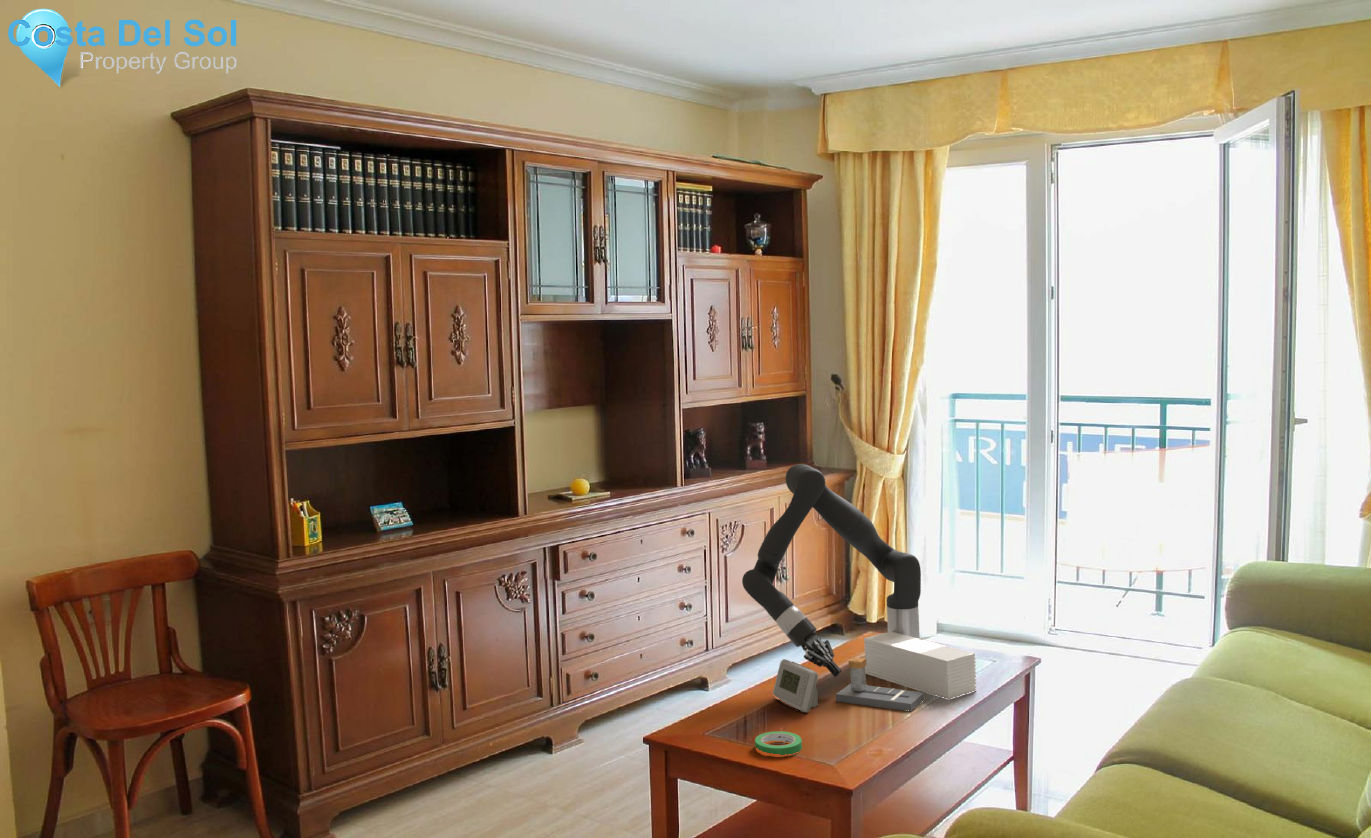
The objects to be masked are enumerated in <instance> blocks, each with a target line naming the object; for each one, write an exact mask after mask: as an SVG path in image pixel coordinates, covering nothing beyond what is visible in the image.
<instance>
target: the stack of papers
mask: <svg viewBox="0 0 1371 838" xmlns="http://www.w3.org/2000/svg"><path fill="white" fill-rule="evenodd" d="M863 641H864V642H863V644H864V646H863V647H864V648H863V649H864V658H866V663H867V665H866V666H865V674H866V675H868V676H872V677H875V678H878V679H881V680H884V681H886V682H890V683H894V684H897V685H900V686H903V687H906V688H909V689H913V690H915V691H917V692H921V691H923V693H925V692H926V693H925V694H929V695H931V694H933V695H932V696H934V695H937V696H939V697H938V698H940V697H944V698H947V699H951V698H953V697H957V696H960V695H962V694H967V693H969V692H972V691H975V690H976V691H977V682H976V681H977V678H976V677H977V676H976V653H975V652H971V651H967V650H963V649H960V648H956V647H953V646H952V647H951V646H948V645H944V644H942V643H937V642H933V641H929V640H926V639H921V638H920V639H918V638H914V637H911V636H907V635H903V634H899V633H895V632H888V631H887V632H883V633H878V634H876V635H871V636H867V637H864V639H863ZM967 695H968V694H967ZM937 696H936V697H937ZM960 697H961V696H960ZM957 698H958V697H957ZM947 699H946V700H947ZM951 700H952V699H951Z"/></svg>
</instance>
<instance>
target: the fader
mask: <svg viewBox="0 0 1371 838" xmlns="http://www.w3.org/2000/svg"><path fill="white" fill-rule="evenodd" d="M866 665H867V663H866V658H865V657H858V656H857V657H856V656H854V657H852V658H851V659H849V660H848V668H850V684H851V690H852V691H859V692H862V691H864V690H865V689H866V685H867V679H866V676H867V674H866V671H865V668H866V667H865V666H866Z"/></svg>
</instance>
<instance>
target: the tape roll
mask: <svg viewBox="0 0 1371 838" xmlns="http://www.w3.org/2000/svg"><path fill="white" fill-rule="evenodd" d="M769 741H783V742H789V743H790V744H780V745H776V744H775V745H774V744H766V743H764V742H769ZM802 744H803V741H802V738H801V736H800V735H798V734H796V733H793V732H789V731H780V730H779V731H778V730H777V731H775V730H774V731H768V732H763V733H761V734H759V735H757V736H756V737H755V739H754V747H755V746H756V748H758V749H759V750H761V751H763V752H767V753H770V754H771V753H773V754H780V755H785V754H787V755H788V754H793V753H796V752H799V751H800V750H801V749H802V750H803V745H802ZM802 750H801V751H802ZM799 753H800V752H799Z"/></svg>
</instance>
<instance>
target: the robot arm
mask: <svg viewBox="0 0 1371 838" xmlns="http://www.w3.org/2000/svg"><path fill="white" fill-rule="evenodd" d="M785 484H786V486H787V489H788V490H789V491H790V492H791V493H792V494H793V495H792V498H791V500H790V502H789V504H788V506H787V508H786V509H785V511H784V512H783V513H782V515H781V516H780V517H779V518H778V519H777V520H776V522H775V523H773V525H772V526H771V527H770V529H769V530H768V532H767V533H766V535H765V537H764V539H763V540H762V543H761V545H760V547H759V549H758V552H757V560H756V563H755V564H754V567H753V568H752V569H748V570H747V571H746V572H745V573H743V576H742V586H743V589H744V590H745V591H746V593H747V594H748V595H749V596H750V597H751V599H753V600H754V601H755V602H757V603H758V604H759V606H761V607H762V608H763V609H764V610H765V611H766V612H767V613H768V615H769V616H770V617H771V619H773V620H774V622H775V623H776V624H777V626H778V627H779V628H780V630H781V631H782V632H783V633H784V634H785V635H786V637H788V639H789V640H790V641H791V643H792V644H793V645H794V646H795V647H797V648H799V647H801V648H802V650H803V651H804V652H805V654H804V655H803V659H805V660H807V662H808V661H809V662H810V663H812V664H814V665H816V666H817V667H818V668H819V667H820V668H821V667H824V668H826V669H827V670H828V671H829V672H830V674H832V676H833V677H834V678H836V677H838V675H840V674H841V673H842V668H840V667H839V666H838V664H837V663H836V662H835V661H834V657H835V654H834V650H833V647H832V646H831V642H830V641H829V640H828V639H826V640H824V641H823V640H822V638H821V637H820V636H818V635H817V634H816V632H817V627H815V625H814V624H813V623H812V622H811V620H809V618H808V617H807V616H806V615H805V614H804V613H803V611H801V610H800V609H799V608H798V607H797V605H795V604H794V603H793V602H792V601H791V600H790V598H788V596H787V595H786V594H784V593H783V592H782V591H780V590H778V589H777V588H776V586H775V585H774V582H775V579H776V576H777V573H778V569H779V567H780V563H781V562H782V560H783V558H784V557H785V554H786V552H787V550H788V548H789V547H790V544H791V542H792V540H793V538H794V536H795V535H796V534H797V531H798V529H799V528H800V526H801V525H802V523H803V522H804V520H805V519H806V518H807V516H808V515H809V513H810V511H811V510H812V509H814V510H815V511H816V512H817V513H818V514H819V515H820V517H821V518H822V519H823V520H824V521H825V522H826V523H827V524H828V525H829V526H830V527H831V528H832V530H834V531H835V532H836V533H837V535H839V536H840V537H841V538H842V539H843V540H845V542H847V543H848V544H849V545H850V546H852V547H853V548H854V549H855V550H857V552H859V553H860V554H861V555H863V556H864V557H865V558H866V559H867V560H868V561H869V562H870V563H871V564H872V565H873V566H874V568H875V569H876V570H877V571H878V572H879V574H881V576H882V577H884V579H886V580H887V581H890V582H892V583H894V584H893V593H891V594H889V595H888V596H887V597H886V615H887V616H886V618H887V620H886V621H887V632H895V633H899V634H903V635H907V636H911V637H914V638H918V639H921V638H920V637H921V635H920V633H921V632H920V616H919V615H920V614H919V613H920V612H919V611H920V610H919V600H920V597H921V593H922V589H921V588H922V586H921V585H922V584H921V583H922V581H921V580H922V573H921V572H922V571H921V564H920V561H919V559H918V558H917V557H916V556H915V555H914V554H912V553H907V552H903V551H899V550H896V549H895V548H893V547H892V546H890V545H889V544H888V543H887V542H886V541H884V540H883V539H882V538H881V537H880V536H879V534H878V532H877V529H876V527H875V525H874V523H873V522H872V521H871V520H870V518H869V517H868V516H866V515H865V514H864V513H863V512H862V511H861V510H860V509H859V508H857V507H856V506H855V505H854V504H852V503H851V502H849V500H846V499H845V498H844V497H842V496H840V495H838V494H837V493H836V492H834V491H833V490H832V489H831V488H829V487H828V486H827V485H826V478H825V476H824V474H823V472H821V471H820V470H819V469H817V468H815V467H812V466H811V465H808V464H805V463H799V464H797V463H796V464H794V465H792V466H791V467H790V468H788V470H787V472H786V473H785Z"/></svg>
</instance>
